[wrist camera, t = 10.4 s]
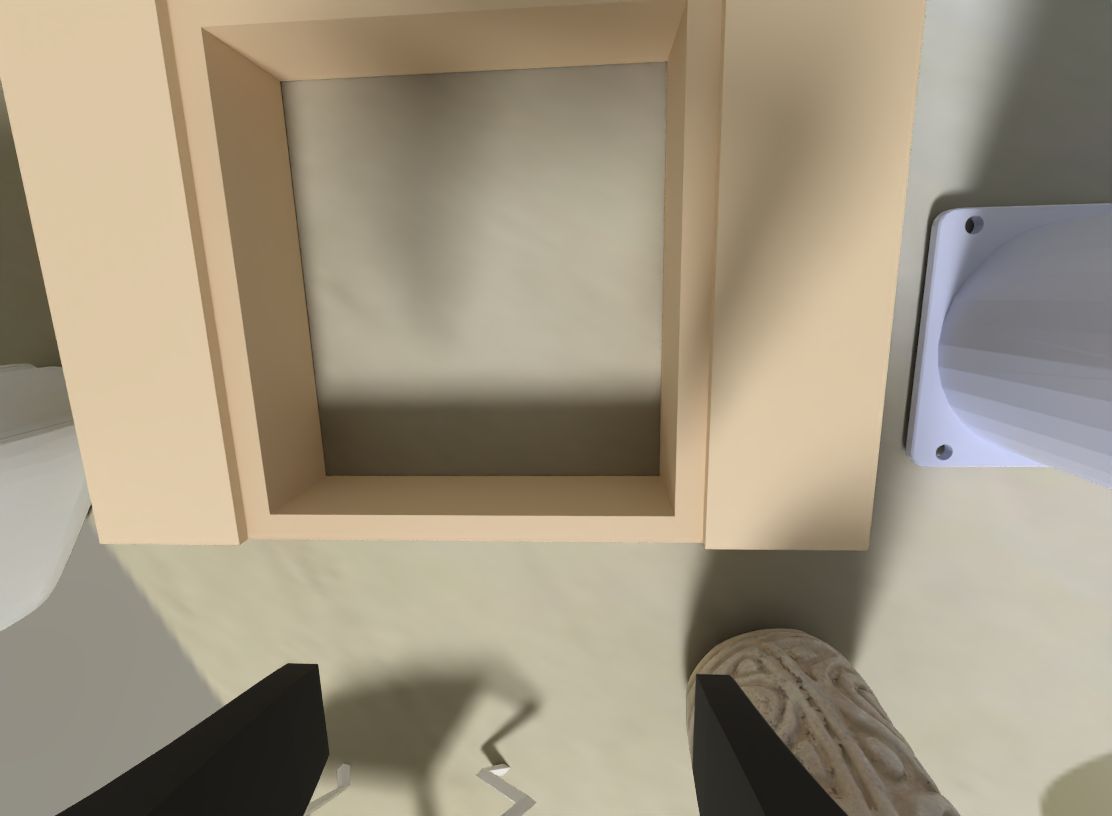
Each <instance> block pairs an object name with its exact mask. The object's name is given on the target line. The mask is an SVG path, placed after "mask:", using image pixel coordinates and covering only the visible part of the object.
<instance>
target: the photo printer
mask: <svg viewBox="0 0 1112 816" xmlns="http://www.w3.org/2000/svg"><path fill="white" fill-rule="evenodd" d="M90 505H91V499H90V494H89V490H88V485H87V480H86V476H85V471H84V466H83V462H82V457H81V452H80V448H79V443H78V438H77V434H76V429H75V424H74V420H73V415H72V410H71V406H70V401H69V396H68V391H67V387H66V382H65V377H64V373H63V368H62V367H56V366H51V367H41V368H36V367H35V366H33V365H31V364H9V365H0V631H1V630H3V629H5V628H7V627H9V626H10V625H12V624H13V623H15V622H17V621H19V620H20V619H22V618H23V617H25V616H26V615H28V614H29V613H31V612H32V611H34V610H35V609H36V608H38V607H39V606H40V605H41V604H42V603H43V602H44V601H45V600H46V599H47V598H48V597H49V595H50V594H51V592H52V591H53V590H54V588H55V586H56V585H57V583H58V581H59V579H60V577H61V574H62V573H63V570H64V568H65V566H66V563H67V561H68V559H69V557H70V555H71V552H72V550H73V548H74V545H75V543H76V540H77V538H78V536H79V533H80V530H81V528H82V525H83V523H84V520H85V518H86V515H87V513H88V510H89V508H90Z"/></svg>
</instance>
